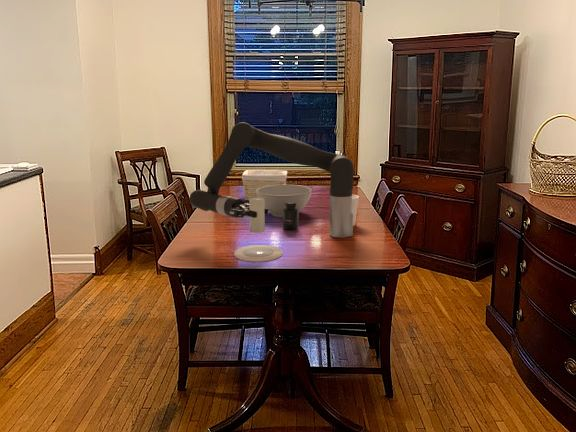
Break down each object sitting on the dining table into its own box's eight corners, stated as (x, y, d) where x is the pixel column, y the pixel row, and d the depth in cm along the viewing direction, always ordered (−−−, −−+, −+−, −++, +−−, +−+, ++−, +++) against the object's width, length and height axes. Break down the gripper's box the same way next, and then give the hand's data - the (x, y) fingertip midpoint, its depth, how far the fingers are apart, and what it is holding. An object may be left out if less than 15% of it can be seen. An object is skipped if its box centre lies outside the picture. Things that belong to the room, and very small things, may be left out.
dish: (280, 246, 218) (280, 244, 217) (283, 260, 200) (283, 258, 200) (234, 247, 216) (234, 245, 216) (234, 262, 199) (233, 260, 199)
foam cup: (345, 221, 254) (345, 193, 251) (362, 224, 249) (362, 195, 246) (333, 225, 247) (333, 196, 244) (350, 228, 242) (351, 199, 238)
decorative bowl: (313, 208, 280) (313, 184, 277) (310, 221, 254) (310, 195, 251) (260, 207, 283) (260, 184, 280) (252, 220, 257) (251, 195, 254)
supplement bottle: (285, 231, 238) (284, 204, 235) (281, 227, 245) (280, 201, 242) (300, 230, 240) (300, 203, 237) (296, 226, 246) (295, 200, 243)
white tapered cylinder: (264, 228, 209) (264, 197, 206) (265, 232, 204) (264, 200, 201) (249, 228, 209) (249, 197, 206) (249, 232, 203) (249, 201, 200)
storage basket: (288, 195, 311) (287, 169, 307) (286, 201, 295) (286, 174, 292) (245, 195, 312) (245, 169, 309) (241, 201, 297) (241, 174, 293)
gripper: (216, 200, 207) (248, 206, 197) (243, 194, 218) (275, 200, 207) (216, 219, 209) (248, 227, 198) (243, 212, 220) (275, 219, 209)
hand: (262, 213), depth 203 cm, fingers closed on white tapered cylinder, 5 cm apart
